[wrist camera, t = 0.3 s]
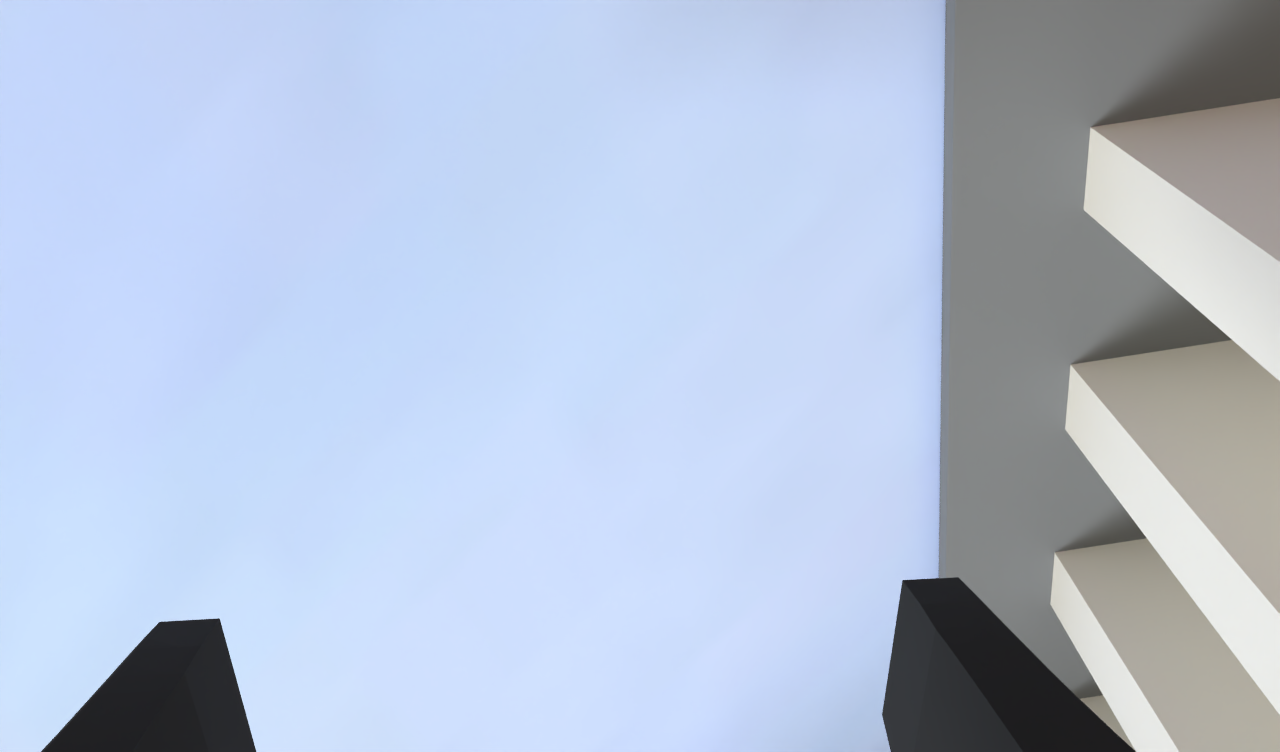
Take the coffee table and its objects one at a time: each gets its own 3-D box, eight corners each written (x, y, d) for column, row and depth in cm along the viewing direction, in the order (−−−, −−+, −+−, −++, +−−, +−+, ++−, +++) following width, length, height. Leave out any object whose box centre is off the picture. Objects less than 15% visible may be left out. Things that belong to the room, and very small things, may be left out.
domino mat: (1268, 858, 32) (1278, 873, 31) (934, 909, 32) (940, 924, 32) (1534, -135, 18) (1558, -132, 18) (946, -43, 18) (955, -37, 18)
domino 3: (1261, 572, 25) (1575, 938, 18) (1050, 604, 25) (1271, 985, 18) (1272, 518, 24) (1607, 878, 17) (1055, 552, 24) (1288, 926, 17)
